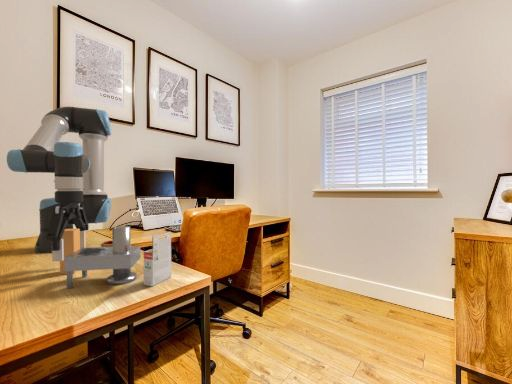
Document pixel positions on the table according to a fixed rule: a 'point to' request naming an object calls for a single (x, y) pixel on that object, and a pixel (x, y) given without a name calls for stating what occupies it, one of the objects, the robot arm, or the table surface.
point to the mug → (107, 244)
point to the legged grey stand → (106, 259)
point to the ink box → (158, 260)
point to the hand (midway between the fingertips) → (70, 254)
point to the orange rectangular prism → (69, 245)
